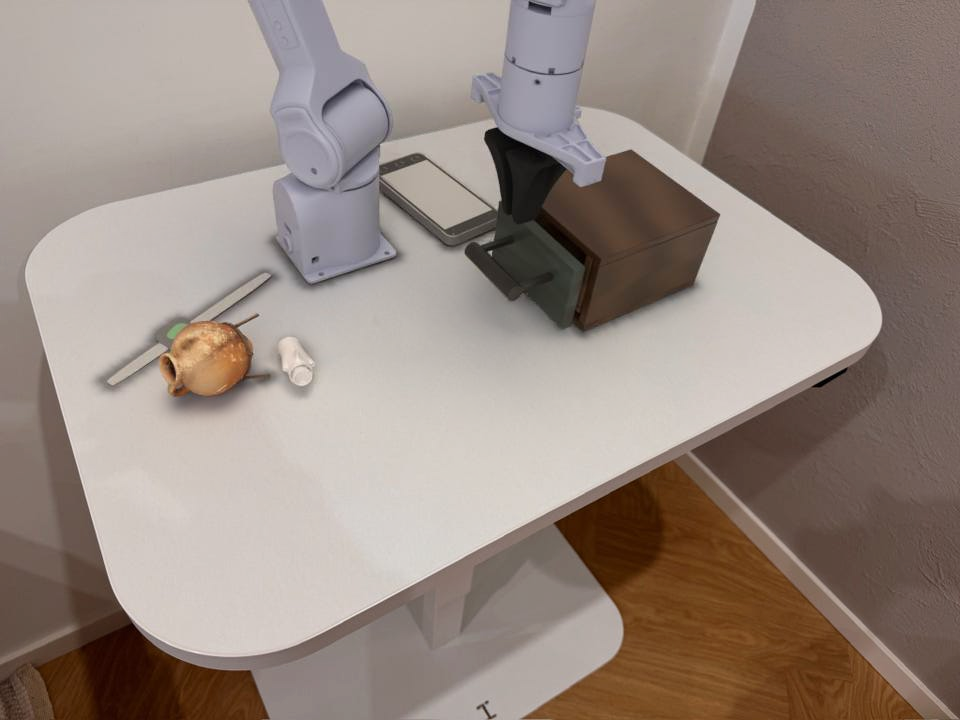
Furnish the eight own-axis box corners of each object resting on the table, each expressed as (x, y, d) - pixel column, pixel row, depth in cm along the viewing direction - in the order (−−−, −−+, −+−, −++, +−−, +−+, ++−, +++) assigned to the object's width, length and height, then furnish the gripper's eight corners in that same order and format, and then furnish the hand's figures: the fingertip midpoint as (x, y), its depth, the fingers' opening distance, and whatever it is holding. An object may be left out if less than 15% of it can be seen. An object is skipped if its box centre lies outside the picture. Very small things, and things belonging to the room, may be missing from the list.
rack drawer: (516, 348, 65) (527, 289, 60) (448, 273, 71) (452, 214, 67) (668, 284, 73) (688, 228, 69) (595, 222, 80) (608, 166, 75)
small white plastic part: (324, 346, 65) (322, 319, 62) (312, 397, 60) (309, 371, 58) (282, 342, 64) (279, 316, 62) (267, 394, 60) (263, 367, 58)
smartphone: (419, 150, 86) (505, 215, 78) (419, 158, 87) (504, 223, 79) (366, 169, 82) (450, 238, 75) (366, 177, 83) (450, 247, 76)
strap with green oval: (255, 263, 70) (279, 277, 69) (256, 267, 71) (279, 280, 70) (95, 371, 60) (120, 388, 59) (96, 374, 60) (121, 392, 59)
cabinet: (582, 332, 69) (601, 259, 63) (504, 256, 76) (515, 183, 69) (693, 284, 75) (721, 214, 69) (612, 218, 82) (631, 148, 76)
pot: (246, 377, 64) (285, 378, 60) (156, 405, 59) (192, 409, 54) (229, 311, 63) (268, 307, 59) (136, 333, 58) (171, 331, 53)
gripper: (653, 91, 51) (610, 249, 61) (529, 10, 59) (509, 162, 69) (574, 111, 48) (542, 274, 58) (454, 23, 56) (444, 180, 65)
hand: (519, 215), depth 63 cm, fingers closed
